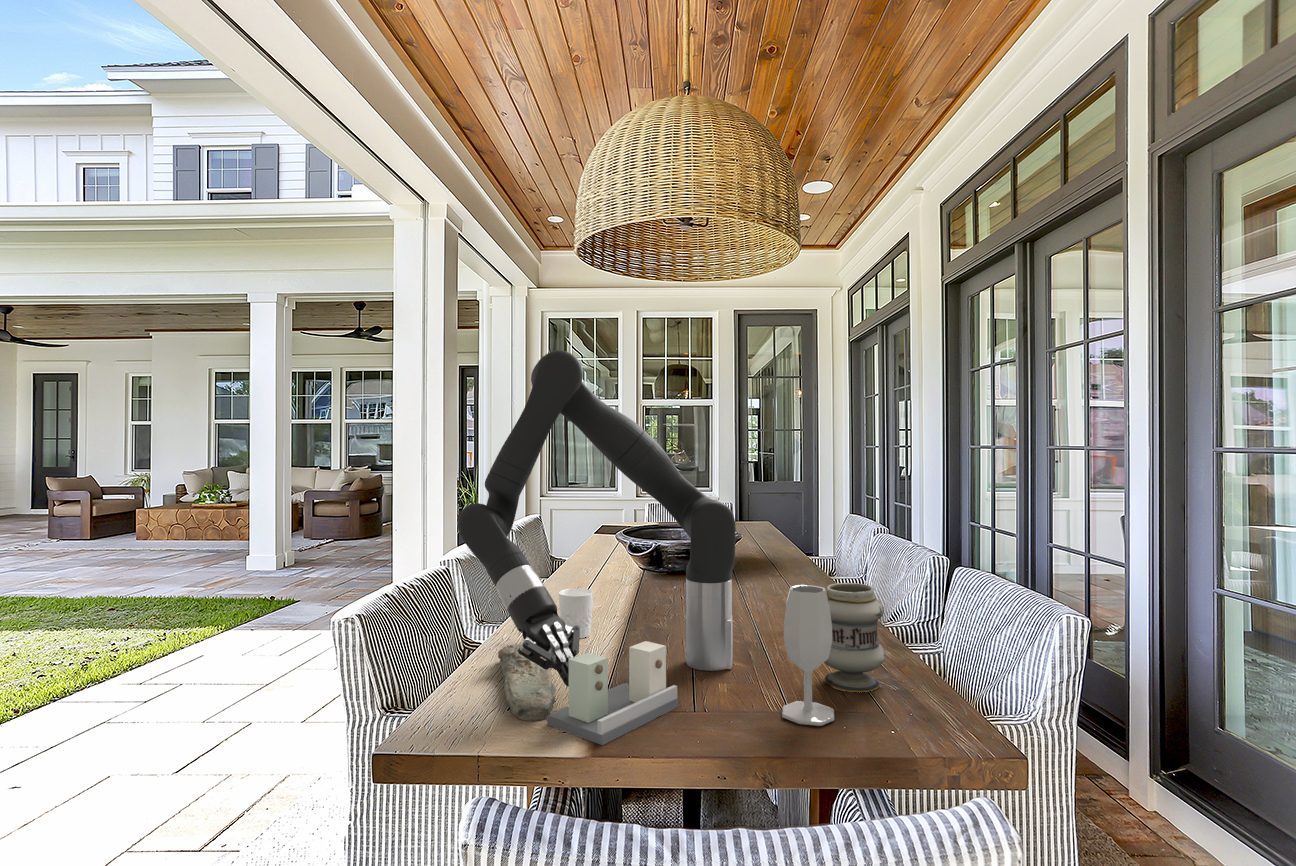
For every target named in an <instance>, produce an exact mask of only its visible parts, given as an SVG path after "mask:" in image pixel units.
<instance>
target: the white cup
mask: <svg viewBox="0 0 1296 866" xmlns="http://www.w3.org/2000/svg"><path fill="white" fill-rule="evenodd" d="M593 598H594V591H593V590H591V589H588V588H567V589H563V590H562V589H561V590H560V591H559V592H558V604H559V605H558V606H559V617H560V618H561V619H563V620H564V622H565V625H567V626H570V627H572V628H573V627H574V626H575V625H577V626H579V627H580V638H581V639H586V638H588V636H589V635H591V633H592V619H593V617H592V615H593V600H594V599H593ZM585 637H586V638H585ZM589 637H590V636H589Z"/></svg>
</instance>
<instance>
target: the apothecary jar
mask: <svg viewBox="0 0 1296 866" xmlns="http://www.w3.org/2000/svg"><path fill="white" fill-rule="evenodd" d="M826 593H827V597H828V600H829V606H830V613H831V620H832V645H831V649H830V653H829V657H828V659H827V660H826V661H825V662H824V663H823V664H826V665H827V666H828V667H830V668H831V669H834V670H836V671H833V672H829V673H827V674H826V675H825V676H824V679H823V681H824V684H825V685H828V686H830V687H831V688H832V689H834V690H837V691H841V692H846V691H847V692H846V693H853V692H857V693H856V694H863V693H862V692H865V693H870V692H869V691H871V692H873V690H874V691H876V690H878V689H879V688H880V682H879V681H878V679H876V678H875V677H873V676H871V675H869V674H867V672H871V671H874V670H876V669H878V668H880V666H882V665H883V664H884V662H885V660H886V658H887V657H886V651H885V649H884V647H883V646H882V645H881V644H880V643H879V636H878V635H879V634H878V620H880V619H881V618H882V617H883V615H884V613H885V610H884V606H883V605H884V604H882V602H881V601H880V600H879V599H877V598H876V595H875V590H874V587H873V586H871V585H867V584H865V583H858V582H857V583H855V582H838V583H832V584H829V585H828V586H827V587H826ZM858 692H859V693H858ZM860 692H861V693H860Z"/></svg>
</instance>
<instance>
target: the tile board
mask: <svg viewBox="0 0 1296 866" xmlns="http://www.w3.org/2000/svg"><path fill="white" fill-rule="evenodd" d="M676 707H677V708H679V697H678V685H675V684H673V685H670V686H669V687H666V689H664V690H662V691H660V692H658V693H655V694H653V695H651V696H649V697H647V698H645V699H642V700H640V701H638V702H633V701H630V700H629V682H623V683H621V684H619V685H616V686H614V687H611V688H609V689H608V714H607V715H605V716H603V717H601V718H598V719H596V720H594V721H592V722H590V723H587V722H585V721H582V720H579V719H576V718H573V717H570V716H569V705H568V706H567V707H566V706H565V707H564V708H561V709H559V710H556V711H554V712H552V713H551V712H550V714H549V715H547V718H546V721H547V722H546V724H547V726H549V727H552V726H553V728H555V729H558V730H561V731H563V732H566V733H568V734H571V735H574V736H575V737H578V738H582V739H584V740H587V741H588V742H589V741H590V742H592V743H595V744H597V745H600V746H604V745H606V744H608V743H610V742H612V741H614V740H616V739H618V738H620V737H622V736H624V735H626V734H628V733H630V732H633V731H634V730H636V729H638V728H640V727H641V726H644V725H646V724H648V723H649V722H652V721H653V720H656V719H657V717H658V718H660V717H662V716H663V715H666V714H668V713H670V712H671V711H673V710H675V709H677V708H676ZM674 708H675V709H674ZM659 716H660V717H659Z"/></svg>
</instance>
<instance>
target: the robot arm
mask: <svg viewBox="0 0 1296 866" xmlns="http://www.w3.org/2000/svg"><path fill="white" fill-rule="evenodd" d="M530 376H531V377H530V383H531V390H530V392H529V393H530V394H529V396H528V398H527V401H526V403H525V406H524V408H523V409H522V411H521V413H520V415H519V418H518V420H517V421H516V423H515V425H514V426H513V428H512V430H511V431H510V433H509V434H508V437H507V438H506V439H505V441H504V443H503V444H502V446H501V448H500V449H499V452H498V454H497V456H496V457H495V459H494V461H493V463H492V466H491V468H490V469H489V472H488V473H487V475H486V478H485V481H484V488H485V490H486V491H487V493H488V498H487V501H486V504H484V503H478V502H477V503H476V502H475V503H471V504H468V505H466V506H465V507H463V508H462V510H460V512H459V515H458V518H457V528H458V529H457V530H458V532H459V535H460V537H461V539H462V541H463V543H464V544H465V545H466V546H467V547H468V549H469V550H470V551H471V553H472V554H473V555H474V557H475V558H476V559H477V560H478V561H479V562H480V563H481V564H482V566H484V568H485V569H486V572H487V574H488V576H489V577H490V580H491V581H492V583H493V585H494V586H495V589H496V590H497V591H496V592H497V594H498V596H499V599H500V601H501V602H502V604H503V606H504V607H505V610H506V612H507V613H508V614H509V617H510V618H511V620H512V622H513V623H514V624H513V625H515V627H516V629H517V631H518V632H519V633H521V634H522V638H523V642H522V643H521V644H522V645H521V646H520V647H519V649H518V653H519V654H521V655H522V656H524V657H525V658H527V659H529V660H530V661H532V662H534V663H535V664H537V665H539V666H540V667H542V668H544V669H545V670H548V669H549V668H551V669H553V670H555V671H556V672H557V674H558V675H559V676H560V677H559V678H561V681H562V682H563V684H564V685H565V686H566V687H567V688H568V689H569V659H571V658H574V657H577V655H578V654H579V653H580V642H581V641H580V640H581V639H580V627H579V626H577V625H575V626H574V627H573V628H572V627H570V626H567V625H565V622H564V620H563V619H561V618H560V615H559V614H558V606H557V605H556V603H555V601H554V599H553V598H552V596H551V594H550V593H549V591H548V589H547V587H546V586H545V584H544V582H543V580H541V578H540V576H539V575H538V573H537V572H536V571H535V570H534V569H533V567H532V566H531V565H530V562H529V561H528V559H527V557H526V555H525V554H524V552H523V550H521V548H520V547H519V546H518V545H517V544H515V542H513V541H512V540H510V539H509V538H508V537H509V535H510V533H511V531H512V528H513V526H514V523H515V518H516V514H517V510H518V505H519V500H520V496H521V493H522V492H523V490H524V489H525V487H526V484H527V482H528V479H529V478H530V476H531V474H532V471H533V469H534V467H535V464H537V460H538V458H539V456H540V454H541V451H542V448H543V447H544V444H545V442H546V440H547V438H548V436H549V433H550V432H551V430H552V427H553V425H554V424H555V422H556V421H557V418H558V417H559V415H562V416H563V417H564V418H566V419H567V420H569V421H570V422H571V423H572V424H573V425H574V426H575V427H577V428H578V429H579V430H580V431H581V433H582V434H583V435H584V436H585V437H586V438H587V439H588V440H589V442H591V443H592V445H593V446H594V447H595V448H597V450H598V451H599V452H601V454H602V455H603V456H604V457H605V458H606V459H607V460H608V461H609V462H610V463H611V464H613V466H614V467H615V468H617V469H618V470H619V471H620V472H621V474H623V475H624V476H625V477H627V479H629V480H630V481H631V482H632V483H634V484H635V485H636V486H637V487H638V488H640V489H641V490H642V491H644V492H645V493H646V494H648V495H649V496H650V497H652V498H654V499H655V500H656V501H657V502H658V503H660V505H661V506H662V507H663V508H664V509H665V510H666V511H667V512H668V513H669V515H671V517H672V518H673V519H674V520H675V521H676V522H677V524H678V525H679V526H680V528H681V529H682V530H683V532H685V533H686V535H687V536H688V537H689V538H690V547H689V548H690V550H689V551H690V552H689V553H690V554H689V561H688V563H687V564H686V565H685V566H686V568H685V656H686V657H685V660H686V661H685V663H686V665H687V667H689V668H692V669H695V670H699V671H710V672H711V671H712V672H713V671H722V670H723V671H724V670H731V669H732V667H733V614H732V613H733V610H732V609H733V607H732V606H733V601H732V600H733V596H732V595H733V593H732V592H733V589H732V587H733V586H732V585H733V582H732V581H733V580H732V578H733V577H732V576H733V574H732V573H733V569H734V566H735V561H736V560H735V559H736V538H737V537H736V535H737V534H736V520H735V516H734V513H733V512H732V509H731V508H730V507H729V506H728V505H726V504H725V503H723V502H721V501H719V500H715V499H712V498H710V497H708V496H707V495H706V494H704V493H703V492H702V491H700V490H699V489H698V488H697V487H696V486H694V485H693V484H692V483H691V482H690V481H688V480H687V479H686V478H685V477H684V475H683V474H682V473H681V472H680V471H679V469H678V468H677V467H676V465H675V464H674V462H673V461H672V459H671V458H670V457H669V455H668V454H667V453H666V451H665V449H663V448H662V447H661V445H660V444H659V443H658V442H657V441H656V439H654V438H653V437H652V436H651V435H650V434H649V433H648V432H647V431H646V430H645V429H644V428H642V426H640V425H639V424H638V423H636V422H635V421H634V420H632V419H631V418H630V417H628V416H627V415H625V414H623V413H622V412H620V411H618V410H617V409H614V408H613V407H611V406H610V405H608V404H606V403H605V402H604V401H602V400H601V399H600V398H599V397H597V395H596V394H594V393H593V391H592V390H591V389H590V388H589V387H588V386H587V385H586V384H585V383H584V382H583V376H584V373H583V367H582V364H581V362H580V361H579V359H578V358H577V357H576V356H575V355H574V354H572V353H571V352H569V351H566V350H561V349H560V350H554V351H553V350H552V351H550V352H548V353H546V354H544V355H543V356H542V357H541V358H540V359H539V360H538V361H537V363H536V364H535V365H534V367H533V369H532V371H531V375H530ZM540 657H542V658H544V659H545V660H546V661H545V660H544V659H542V658H540Z"/></svg>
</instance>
